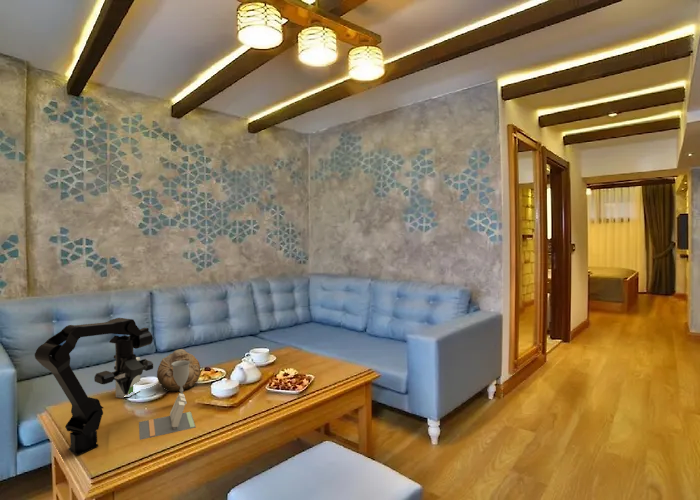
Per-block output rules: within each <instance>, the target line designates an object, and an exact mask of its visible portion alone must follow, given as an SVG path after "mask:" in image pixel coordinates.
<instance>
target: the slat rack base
mask: <svg viewBox="0 0 700 500" xmlns="http://www.w3.org/2000/svg"><path fill="white" fill-rule="evenodd" d="M178 401H179V402H184V404H185V403H186V402H187V400H186V397H185V394H184V393H183V394H180V393H178V395H177V397H176V398H175V401H174V404H173V406H172V407H171V410H170V412H169V415H168V416H163V417H158V418H152V419H147V420H142V421H138V429H139V431H138V432H139V441H142V440H145V439H150V438H155V437H159V436H164V435H167V434H173V433H176V432H181V431H186V430H187V431H188V430H191V429H194V428H196V424H195V421H194V417H193V415H192V412H191V411H188V412H186V411H185V412H183V413H182V416H181V419H180V422H179V425H178V427H172V424H171V423H172V420H173V417H174V413H175V410H176V407H177V404H178ZM185 405H186V404H185Z"/></svg>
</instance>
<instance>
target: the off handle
mask: <svg viewBox="0 0 700 500" xmlns="http://www.w3.org/2000/svg"><path fill="white" fill-rule="evenodd" d="M185 407H186V404H184V402H179V401H178V404H177V407H176V410H175V413H174V417H173V420H172V423H171V424H172V427H178V425H179V422H180V419H181V416H182V413H184V410H185Z"/></svg>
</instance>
